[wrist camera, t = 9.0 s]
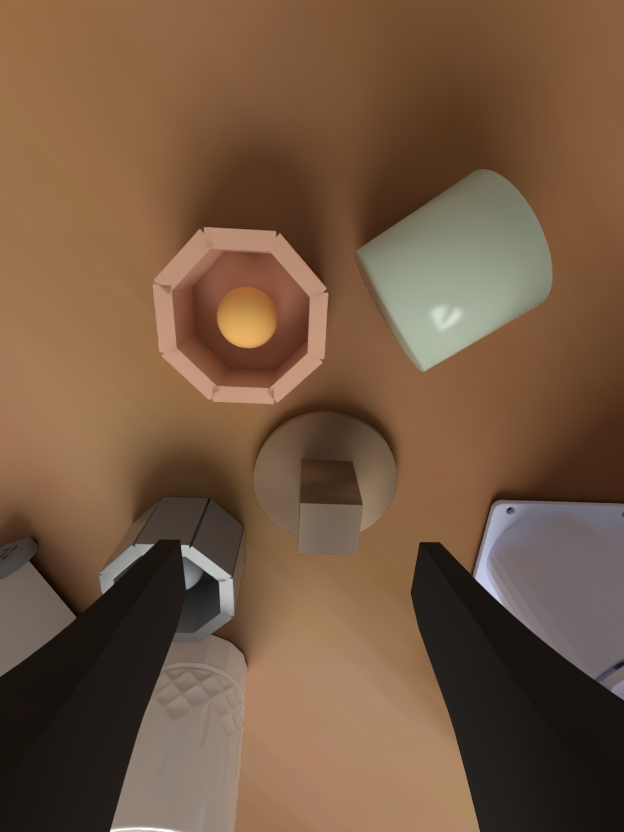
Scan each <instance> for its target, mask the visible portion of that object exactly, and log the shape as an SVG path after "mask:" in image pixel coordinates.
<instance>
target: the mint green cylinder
mask: <svg viewBox="0 0 624 832" xmlns="http://www.w3.org/2000/svg"><path fill="white" fill-rule="evenodd" d="M354 255H355V260H356V263H357V266H358V269H359V271H360V274H361V276H362V278H363V280H364V283H365V285H366V287H367V289H368V291H369V293H370V295H371V297H372V299H373V301H374V302H375V304H376V306H377V308H378V310H379V312H380V313H381V315H382V317H383V319H384V320H385V322H386V324H387V325H388V327H389V329H390V330H391V332H392V334H393V335H394V337H395V338H396V340H397V341H398V343H399V345H400V346H401V347H402V349H403V350H404V352H405V353H406V355H407V356H408V357H409V359H410V360H411V361H412V362H413V364H414V365H415V366H416V367H417V368H418V369H419V370H420V371H422V372H424V371H426V370H428V369H429V368H431V367H433V366H435V365H436V364H438V363H440V362H441V361H443V360H445V359H447V358H448V357H450V356H452V355H454V354H455V353H457V352H459V351H460V350H462V349H464V348H466V347H467V346H469V345H471V344H472V343H474V342H476V341H478V340H479V339H481V338H483V337H484V336H486V335H488V334H490V333H491V332H493V331H495V330H497V329H498V328H500V327H502V326H503V325H505V324H507V323H509V322H510V321H512V320H514V319H515V318H517V317H519V316H521V315H522V314H524V313H526V312H528V311H529V310H531V309H533V308H534V307H536V306H538V305H540V304H541V303H542V302H544V301H545V300H546V298H547V297H548V295H549V293H550V290H551V286H552V278H553V273H552V261H551V256H550V251H549V247H548V244H547V241H546V237H545V235H544V232H543V230H542V227H541V225H540V223H539V221H538V219H537V217H536V215H535V214H534V212H533V210H532V208H531V207H530V205H529V204H528V202H527V201H526V199H525V198H524V197H523V196H522V194H521V193H520V192H519V191H518V190H517V188H516V187H515V186H514V185H513V184H512V183H511V182H509V181H508V180H507V179H506V178H504V177H503V176H501V175H500V174H498V173H496V172H494V171H491V170H487V169H479V170H476V171H474V172H472V173H471V174H469V175H468V176H466V177H465V178H463V179H462V180H460V181H459V182H457V183H456V184H454V185H453V186H452V187H450V188H449V189H447V190H446V191H444V192H443V193H441V194H440V195H438V196H437V197H435V198H434V199H432V200H431V201H429V202H428V203H426V204H425V205H423V206H422V207H420V208H419V209H417V210H416V211H414V212H413V213H411V214H410V215H408V216H407V217H405V218H404V219H402V220H401V221H399V222H398V223H396V224H395V225H393V226H392V227H390V228H389V229H387V230H386V231H384V232H383V233H381V234H380V235H378V236H377V237H376V238H374V239H373V240H371V241H370V242H368V243H367V244H365V245H364V246H362V247H361V248H359V249H358V250H356V251H355V252H354Z"/></svg>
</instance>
